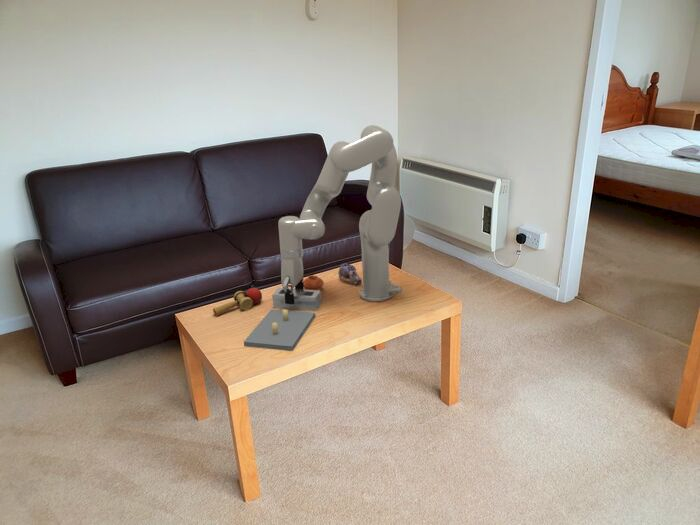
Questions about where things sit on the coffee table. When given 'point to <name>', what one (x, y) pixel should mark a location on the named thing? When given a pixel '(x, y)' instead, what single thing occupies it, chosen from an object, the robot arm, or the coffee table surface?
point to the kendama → (241, 301)
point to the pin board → (280, 329)
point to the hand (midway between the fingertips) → (294, 297)
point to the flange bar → (298, 299)
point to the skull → (349, 273)
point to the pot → (313, 283)
